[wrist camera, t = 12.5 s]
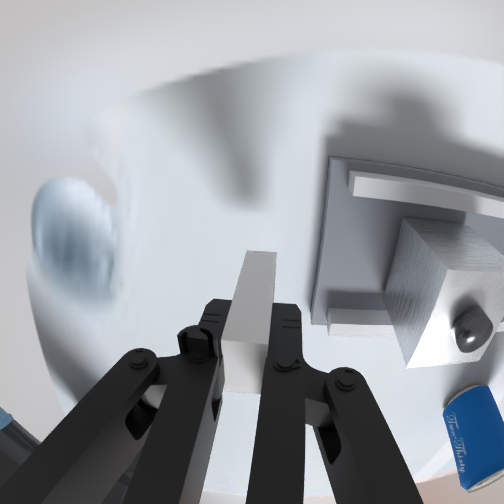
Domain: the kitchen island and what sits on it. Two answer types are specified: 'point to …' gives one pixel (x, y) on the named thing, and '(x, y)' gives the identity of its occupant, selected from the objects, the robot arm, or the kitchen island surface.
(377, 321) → the base
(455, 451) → the beverage can
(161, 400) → the robot arm
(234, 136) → the kitchen island surface
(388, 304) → the white cube with knob
